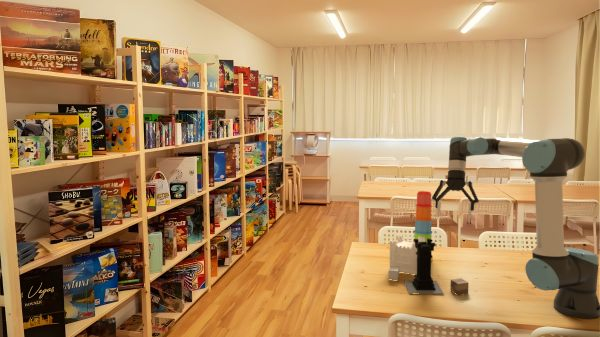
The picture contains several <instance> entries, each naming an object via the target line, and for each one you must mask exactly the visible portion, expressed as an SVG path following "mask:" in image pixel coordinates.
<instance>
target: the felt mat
mask: <svg viewBox="0 0 600 337" xmlns="http://www.w3.org/2000/svg"><path fill="white" fill-rule="evenodd" d="M412 281H414V280H413V279H411V280H406V279H405V280H403V283H404V282H405V283H404V285H405V284H406V285H405V288H406V287H407V288H406V290H407V289H408V290H407V292H408V291H409V293H419V294H418V295H420V294H445V293H444V291H443V290H442V288H441V286H440V284H439V283H438V281H437V280H433V283H434V287H435V288H436V290H416V289H415V287H414V285H413V284H412ZM409 293H408V294H409Z"/></svg>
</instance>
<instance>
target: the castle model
mask: <svg viewBox="0 0 600 337" xmlns="http://www.w3.org/2000/svg"><path fill="white" fill-rule="evenodd" d="M403 237H404V235H403V234H400V233H397V234H396V236H395V239H392V238H391V239H390V240H389V267H390V266H397V267H399V272H404V273H409V274H415V275H417V255H416V252H417V248H416V247H415V242H414V239H413V240H411V239H409V240H408V239H404V238H403ZM419 242H425V237H423V238H422V236H419V237H418V243H419Z"/></svg>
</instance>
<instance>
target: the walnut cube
mask: <svg viewBox="0 0 600 337" xmlns="http://www.w3.org/2000/svg"><path fill="white" fill-rule="evenodd" d="M450 290H451V292H452V291H453V292H454V293H453V292H452V293H453V294H455V293H456V294H457V295H456V294H455V295H456V296H462V295H461V294H464V295H469V282H468V281H467V280H466V279H463V278H462V277H460V278H452V279H450ZM450 290H449V291H450Z"/></svg>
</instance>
